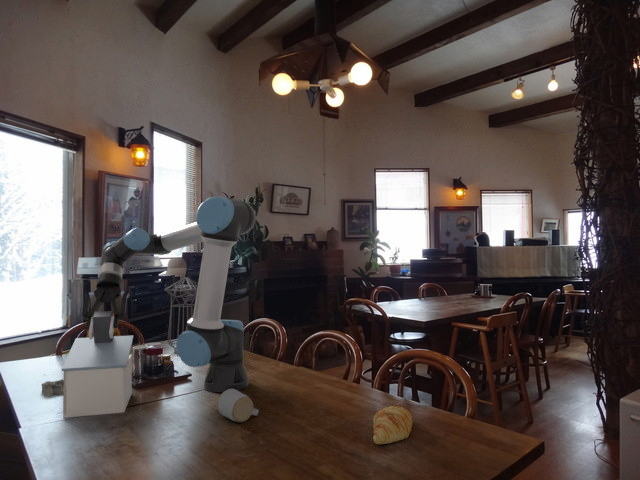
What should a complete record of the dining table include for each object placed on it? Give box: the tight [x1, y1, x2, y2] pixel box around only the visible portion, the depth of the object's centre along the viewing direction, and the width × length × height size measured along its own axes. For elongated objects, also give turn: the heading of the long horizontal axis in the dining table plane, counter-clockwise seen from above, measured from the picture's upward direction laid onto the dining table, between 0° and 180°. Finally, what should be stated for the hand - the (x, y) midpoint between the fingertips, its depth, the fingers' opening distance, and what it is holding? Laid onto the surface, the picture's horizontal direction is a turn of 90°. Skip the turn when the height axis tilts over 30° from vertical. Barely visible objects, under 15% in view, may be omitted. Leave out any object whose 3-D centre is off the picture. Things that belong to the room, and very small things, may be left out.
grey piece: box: [41, 378, 64, 397], centre depth 156 cm, size 11×8×4 cm
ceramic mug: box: [217, 389, 260, 423], centre depth 130 cm, size 11×8×8 cm
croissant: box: [372, 405, 414, 445], centre depth 119 cm, size 21×10×8 cm, turn 151°
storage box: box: [62, 353, 133, 418], centre depth 141 cm, size 18×16×13 cm
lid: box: [61, 310, 134, 372], centre depth 140 cm, size 18×17×10 cm
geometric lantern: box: [164, 277, 198, 354], centre depth 218 cm, size 16×16×35 cm
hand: (100, 336), depth 142 cm, fingers closed on lid, 5 cm apart
